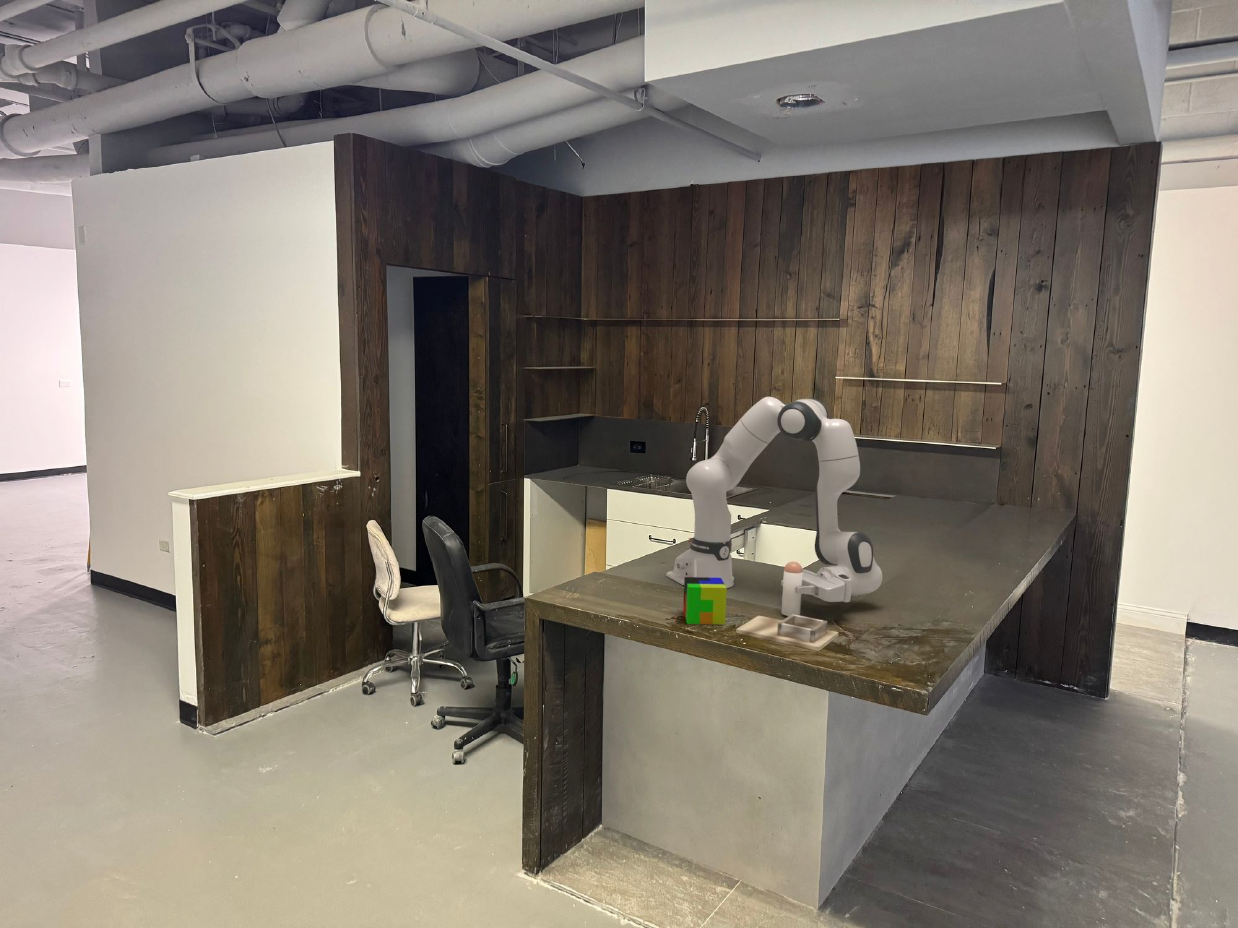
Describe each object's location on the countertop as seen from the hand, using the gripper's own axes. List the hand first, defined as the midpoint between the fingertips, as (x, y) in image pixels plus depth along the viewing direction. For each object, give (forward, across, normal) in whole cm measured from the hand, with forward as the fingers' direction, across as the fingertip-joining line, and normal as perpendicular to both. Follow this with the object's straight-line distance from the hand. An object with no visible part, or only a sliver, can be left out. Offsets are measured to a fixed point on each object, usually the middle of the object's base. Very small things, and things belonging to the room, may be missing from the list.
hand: (789, 586), depth 232 cm
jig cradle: (+9, +12, +8) cm, 17 cm away
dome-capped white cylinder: (-1, 0, +8) cm, 8 cm away
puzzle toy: (+23, -7, +9) cm, 25 cm away
